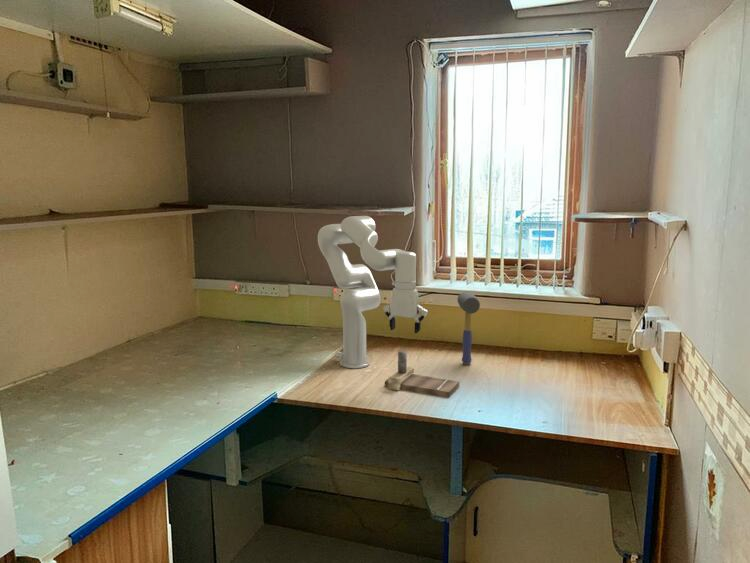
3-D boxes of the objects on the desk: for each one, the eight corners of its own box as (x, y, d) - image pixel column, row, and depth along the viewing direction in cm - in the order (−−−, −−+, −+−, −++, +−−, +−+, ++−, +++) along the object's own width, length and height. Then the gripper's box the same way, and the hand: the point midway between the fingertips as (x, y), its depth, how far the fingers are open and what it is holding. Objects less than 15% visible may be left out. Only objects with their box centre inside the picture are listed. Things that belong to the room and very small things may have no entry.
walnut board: (384, 386, 213) (384, 381, 212) (397, 376, 224) (397, 371, 223) (449, 397, 202) (449, 391, 202) (459, 386, 213) (459, 381, 213)
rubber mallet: (479, 368, 233) (481, 296, 227) (460, 369, 232) (462, 296, 227) (471, 359, 245) (474, 290, 240) (454, 359, 245) (456, 290, 239)
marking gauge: (388, 388, 210) (388, 357, 208) (404, 375, 223) (404, 346, 221) (398, 390, 208) (398, 358, 206) (413, 377, 222) (414, 347, 219)
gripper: (379, 285, 210) (379, 330, 213) (424, 289, 203) (423, 336, 206) (387, 281, 217) (387, 325, 220) (431, 285, 209) (430, 331, 213)
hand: (404, 330), depth 213 cm, fingers open, 9 cm apart
